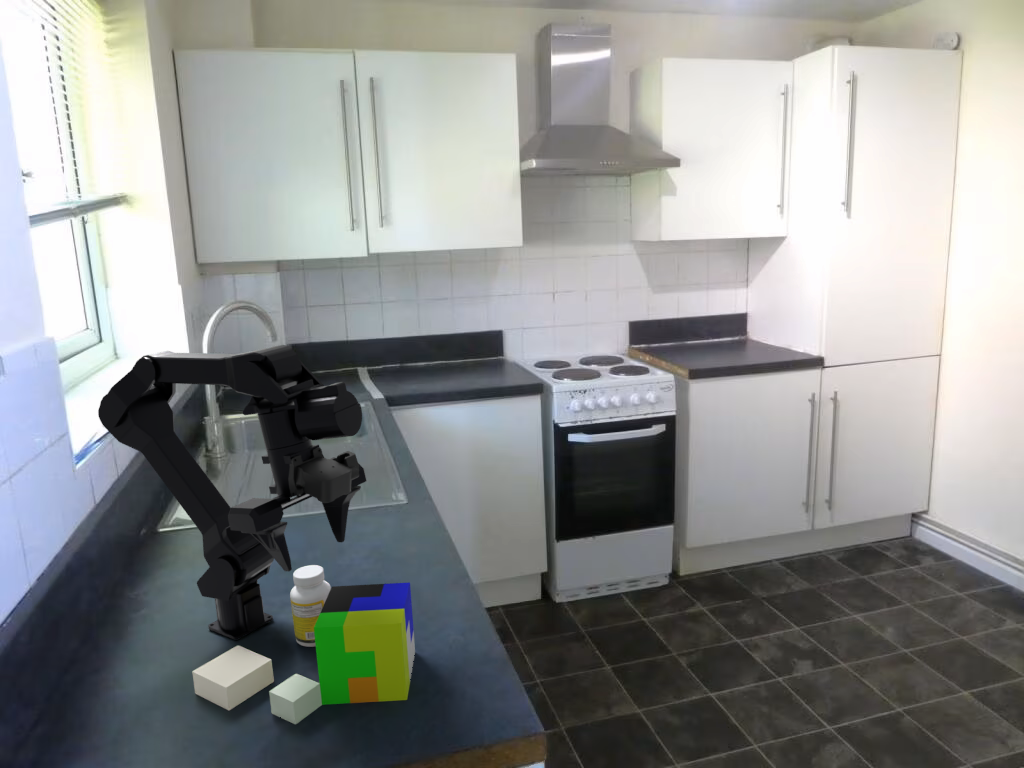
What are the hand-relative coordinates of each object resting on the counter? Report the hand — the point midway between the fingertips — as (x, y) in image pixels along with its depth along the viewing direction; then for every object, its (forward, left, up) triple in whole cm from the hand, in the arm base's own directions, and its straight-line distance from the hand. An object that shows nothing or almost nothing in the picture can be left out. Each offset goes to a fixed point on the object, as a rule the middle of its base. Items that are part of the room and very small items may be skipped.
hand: (315, 555), depth 97 cm
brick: (+8, -12, -13) cm, 19 cm away
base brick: (-2, -13, -12) cm, 18 cm away
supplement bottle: (-2, 0, -13) cm, 13 cm away
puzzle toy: (+12, -3, -13) cm, 17 cm away
